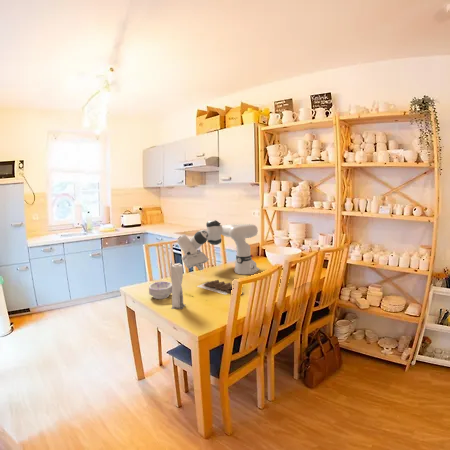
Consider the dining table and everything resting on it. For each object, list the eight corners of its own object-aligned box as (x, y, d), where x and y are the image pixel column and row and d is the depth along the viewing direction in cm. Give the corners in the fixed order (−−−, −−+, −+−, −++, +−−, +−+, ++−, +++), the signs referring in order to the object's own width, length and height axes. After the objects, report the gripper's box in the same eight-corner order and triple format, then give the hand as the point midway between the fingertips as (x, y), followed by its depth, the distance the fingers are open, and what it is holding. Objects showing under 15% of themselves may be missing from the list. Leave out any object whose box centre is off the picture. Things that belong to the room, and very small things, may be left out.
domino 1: (203, 283, 222) (213, 281, 216) (208, 281, 226) (218, 279, 219) (204, 286, 222) (214, 284, 215) (209, 284, 226) (219, 282, 219)
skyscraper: (168, 308, 188) (167, 263, 183) (173, 303, 195) (171, 259, 191) (182, 309, 186) (181, 263, 182) (186, 304, 194) (185, 260, 190)
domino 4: (220, 288, 212) (231, 285, 206) (225, 286, 216) (236, 283, 210) (221, 291, 212) (232, 288, 206) (226, 289, 216) (236, 286, 210)
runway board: (207, 283, 231) (207, 281, 231) (236, 290, 215) (236, 289, 215) (196, 287, 222) (196, 286, 222) (225, 296, 206) (225, 294, 206)
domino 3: (215, 287, 215) (225, 284, 209) (219, 285, 219) (230, 282, 213) (215, 289, 215) (226, 287, 209) (220, 287, 219) (231, 285, 213)
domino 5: (226, 289, 209) (239, 294, 203) (231, 287, 213) (243, 292, 207) (226, 292, 209) (238, 297, 203) (231, 290, 213) (243, 295, 207)
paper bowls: (149, 302, 197) (149, 290, 196) (148, 293, 211) (148, 282, 210) (174, 299, 201) (173, 287, 200) (171, 291, 215) (171, 280, 214)
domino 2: (209, 285, 219) (219, 283, 212) (213, 283, 223) (224, 281, 216) (209, 287, 219) (220, 285, 212) (214, 285, 223) (224, 283, 216)
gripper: (199, 253, 238) (209, 268, 234) (179, 259, 222) (189, 275, 218) (203, 248, 235) (214, 263, 230) (183, 254, 219) (194, 270, 214)
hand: (202, 269), depth 224 cm, fingers closed
